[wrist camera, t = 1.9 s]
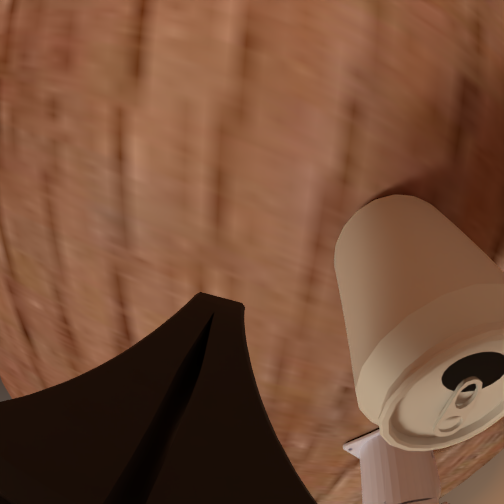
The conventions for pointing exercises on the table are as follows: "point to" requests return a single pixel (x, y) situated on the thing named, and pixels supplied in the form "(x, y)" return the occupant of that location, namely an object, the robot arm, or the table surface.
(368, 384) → the can
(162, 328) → the robot arm
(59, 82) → the table surface
